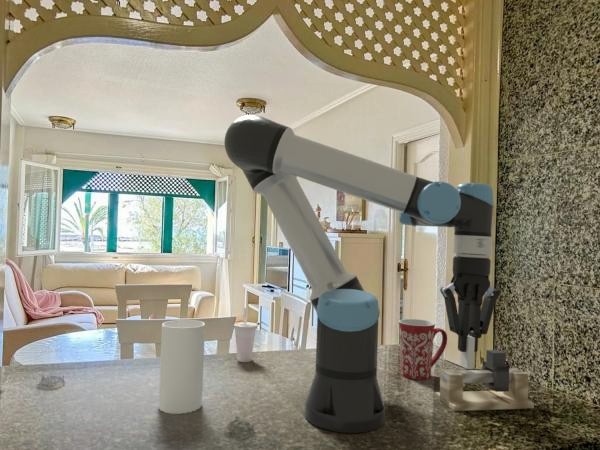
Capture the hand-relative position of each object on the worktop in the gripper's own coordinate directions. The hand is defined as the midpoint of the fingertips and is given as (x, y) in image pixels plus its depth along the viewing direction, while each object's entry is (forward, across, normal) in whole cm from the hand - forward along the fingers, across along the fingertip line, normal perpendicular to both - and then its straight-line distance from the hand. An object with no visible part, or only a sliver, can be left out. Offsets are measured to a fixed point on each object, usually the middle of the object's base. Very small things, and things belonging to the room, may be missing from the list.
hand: (466, 366), depth 95 cm
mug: (+8, -1, +19) cm, 20 cm away
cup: (+9, -59, +3) cm, 60 cm away
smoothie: (+9, -45, +35) cm, 58 cm away
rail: (+7, +4, 0) cm, 8 cm away
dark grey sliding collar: (+4, +7, 0) cm, 8 cm away
